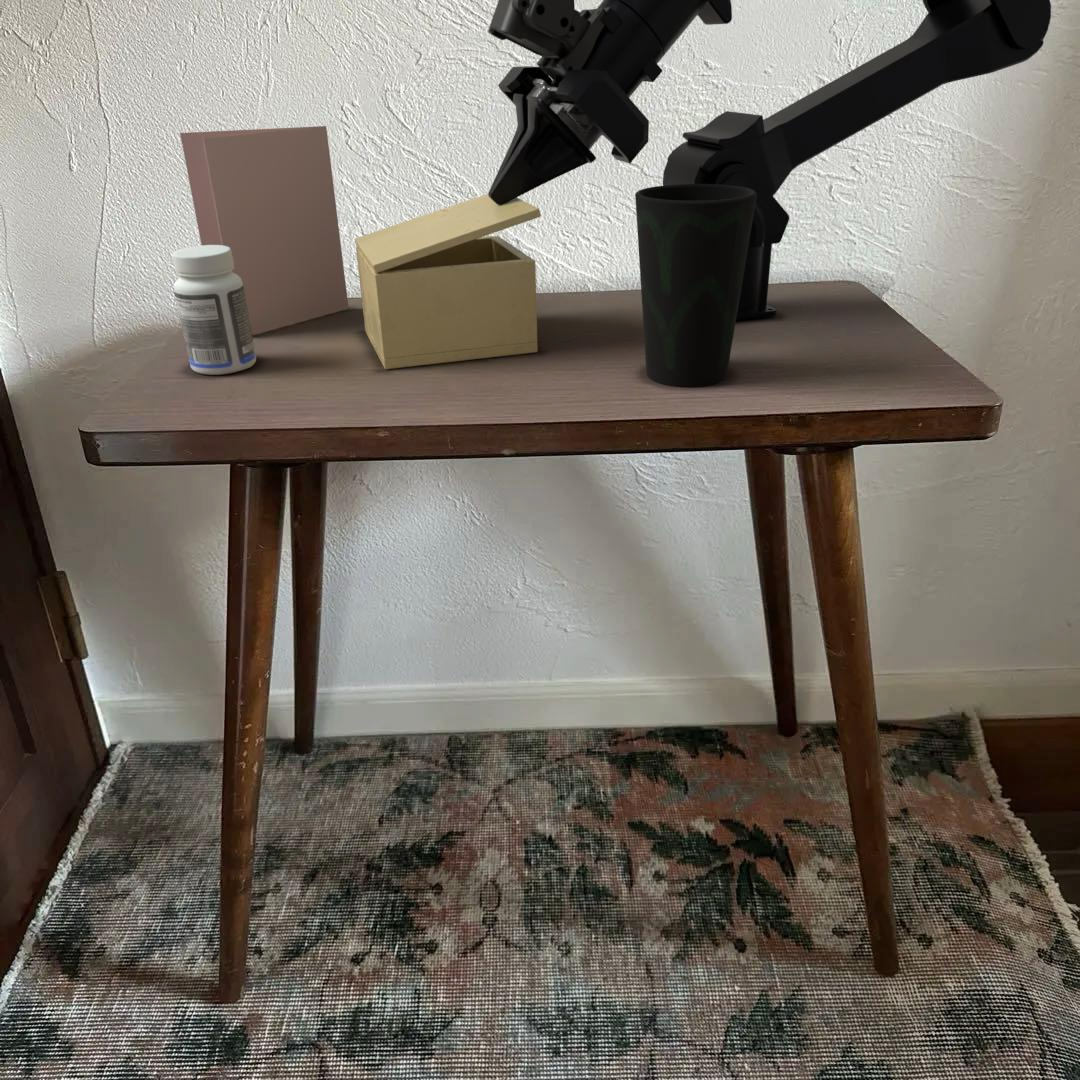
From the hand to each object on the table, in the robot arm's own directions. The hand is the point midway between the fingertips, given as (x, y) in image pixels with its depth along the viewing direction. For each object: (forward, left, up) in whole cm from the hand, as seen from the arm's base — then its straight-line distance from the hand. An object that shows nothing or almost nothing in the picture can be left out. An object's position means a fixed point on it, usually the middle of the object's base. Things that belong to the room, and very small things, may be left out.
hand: (493, 200), depth 70 cm
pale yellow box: (+4, 0, -10) cm, 11 cm away
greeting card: (+16, -11, -10) cm, 22 cm away
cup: (-10, +14, -10) cm, 20 cm away
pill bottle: (+21, 0, -10) cm, 24 cm away
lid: (+4, 0, -2) cm, 4 cm away
